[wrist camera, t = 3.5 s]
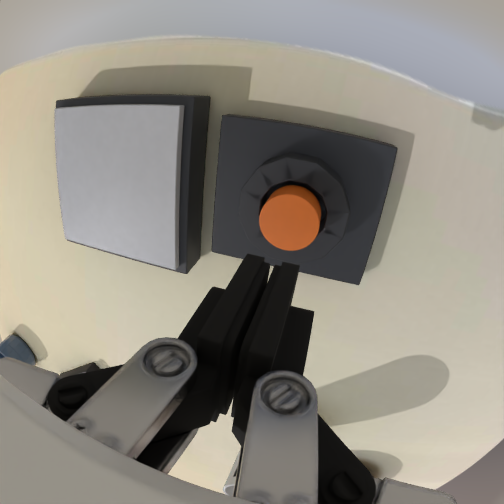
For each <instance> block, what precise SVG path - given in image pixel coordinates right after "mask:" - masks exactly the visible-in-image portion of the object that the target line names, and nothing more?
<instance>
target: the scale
mask: <svg viewBox="0 0 504 504" xmlns="http://www.w3.org/2000/svg"><path fill="white" fill-rule="evenodd" d="M209 106H210V96H200V95H174V94H131V95H107V96H91V97H79V98H71V99H64V100H58V101H56V108H55V149H56V166H57V178H58V189H59V198H60V206H61V214H62V221H63V228H64V234H65V239H67V240H68V241H71V242H74V243H77V244H81V245H84V246H87V247H91V248H94V249H98V250H101V251H104V252H108V253H111V254H115V255H118V256H122V257H125V258H129V259H132V260H136V261H139V262H143V263H147V264H150V265H154V266H158V267H161V268H165V269H169V270H172V271H176V272H180V273H184V274H187V273H188V272H189V271H190V270H191V268H192V267H193V266H194V265H195V264H196V262H197V261H198V260H199V259H200V243H201V219H202V200H203V183H204V167H205V153H206V140H207V128H208V117H209Z"/></svg>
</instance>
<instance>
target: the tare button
mask: <svg viewBox="0 0 504 504" xmlns="http://www.w3.org/2000/svg"><path fill="white" fill-rule="evenodd" d="M320 219H321V207H320V203H319V201H318V199H317V198H316V196H315V195H314V194H313V193H312V192H311V191H309V190H308V189H306V188H304V187H301V186H298V185H287V186H283V187H281V188H279V189H277V190H276V191H274V192H273V193H272V194H271V196H270V197H269V199H268V200H267V202H266V203H265V205H264V206H263V208H262V210H261V212H260V216H259V225H260V229H261V231H262V233H263V235H264V237H265V238H266V239H267V241H268V242H270V243H271V244H272V245H274V246H275V247H277V248H280V249H283V250H288V251H294V250H300V249H303V248H305V247H307V246H308V245H310V244H311V243H312V242H313V241H314V239H315V238H316V236H317V234H318V231H319V226H320Z"/></svg>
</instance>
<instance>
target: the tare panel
mask: <svg viewBox="0 0 504 504" xmlns="http://www.w3.org/2000/svg"><path fill="white" fill-rule="evenodd" d="M396 153H397V148H396V147H395V146H394V145H392V144H388V143H384V142H380V141H377V140H373V139H369V138H365V137H360V136H356V135H352V134H347V133H343V132H338V131H334V130H329V129H324V128H319V127H314V126H308V125H303V124H297V123H291V122H285V121H278V120H272V119H265V118H257V117H249V116H241V115H232V114H227V115H222V121H221V132H220V143H219V154H218V166H217V179H216V192H215V206H214V221H213V236H212V252H215V253H219V254H224V255H228V256H232V257H236V258H241V259H244V258H245V256H246V255H247V254H252V255H257V256H261V257H265V262H267V263H270V265H271V266H275V265H280V266H281V265H282V262H287V263H291V264H296V265H300V267H299V272H302V273H307V274H311V275H315V276H320V277H324V278H329V279H333V280H338V281H342V282H347V283H351V284H356V285H359V284H360V281H361V279H362V276H363V273H364V270H365V267H366V263H367V260H368V257H369V254H370V251H371V248H372V244H373V241H374V238H375V234H376V231H377V228H378V224H379V221H380V217H381V214H382V210H383V206H384V203H385V199H386V195H387V191H388V187H389V183H390V179H391V175H392V171H393V166H394V162H395V158H396ZM287 185H298V186H301V187H304V188H306V189H308V190H309V191H311V192H312V193H313V194H314V195H315V196H316V198H317V199H318V201H319V203H320V207H321V219H320V226H319V231H318V234H317V236H316V238H315V239H314V241H313V242H312V243H311V244H310V245H308V246H307V247H305V248H303V249H300V250H294V251H288V250H283V249H280V248H277V247H275V246H274V245H272V244H271V243H270V242H268V241H267V239H266V238H265V237H264V235H263V233H262V231H261V229H260V225H259V216H260V212H261V210H262V208H263V206H264V205H265V203H266V202H267V200H268V199H269V197H270V196H271V194H272V193H273V192H274V191H276V190H277V189H279V188H281V187H283V186H287Z"/></svg>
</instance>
